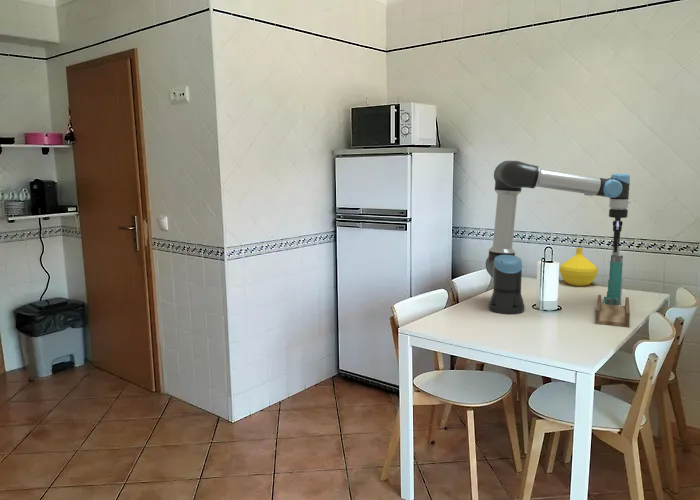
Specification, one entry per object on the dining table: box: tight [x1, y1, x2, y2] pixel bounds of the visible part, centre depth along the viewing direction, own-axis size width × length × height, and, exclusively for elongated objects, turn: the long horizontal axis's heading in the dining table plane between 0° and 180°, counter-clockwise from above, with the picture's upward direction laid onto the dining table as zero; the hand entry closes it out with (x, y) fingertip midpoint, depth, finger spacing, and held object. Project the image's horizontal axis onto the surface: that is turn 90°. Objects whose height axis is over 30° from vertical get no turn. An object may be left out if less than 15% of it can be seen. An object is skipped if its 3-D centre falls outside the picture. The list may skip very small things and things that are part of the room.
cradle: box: [594, 294, 631, 328], centre depth 228 cm, size 12×28×6 cm, turn 154°
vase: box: [559, 247, 599, 287], centre depth 287 cm, size 18×18×19 cm
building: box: [603, 246, 624, 306], centre depth 244 cm, size 6×6×30 cm
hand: (615, 260), depth 249 cm, fingers closed
